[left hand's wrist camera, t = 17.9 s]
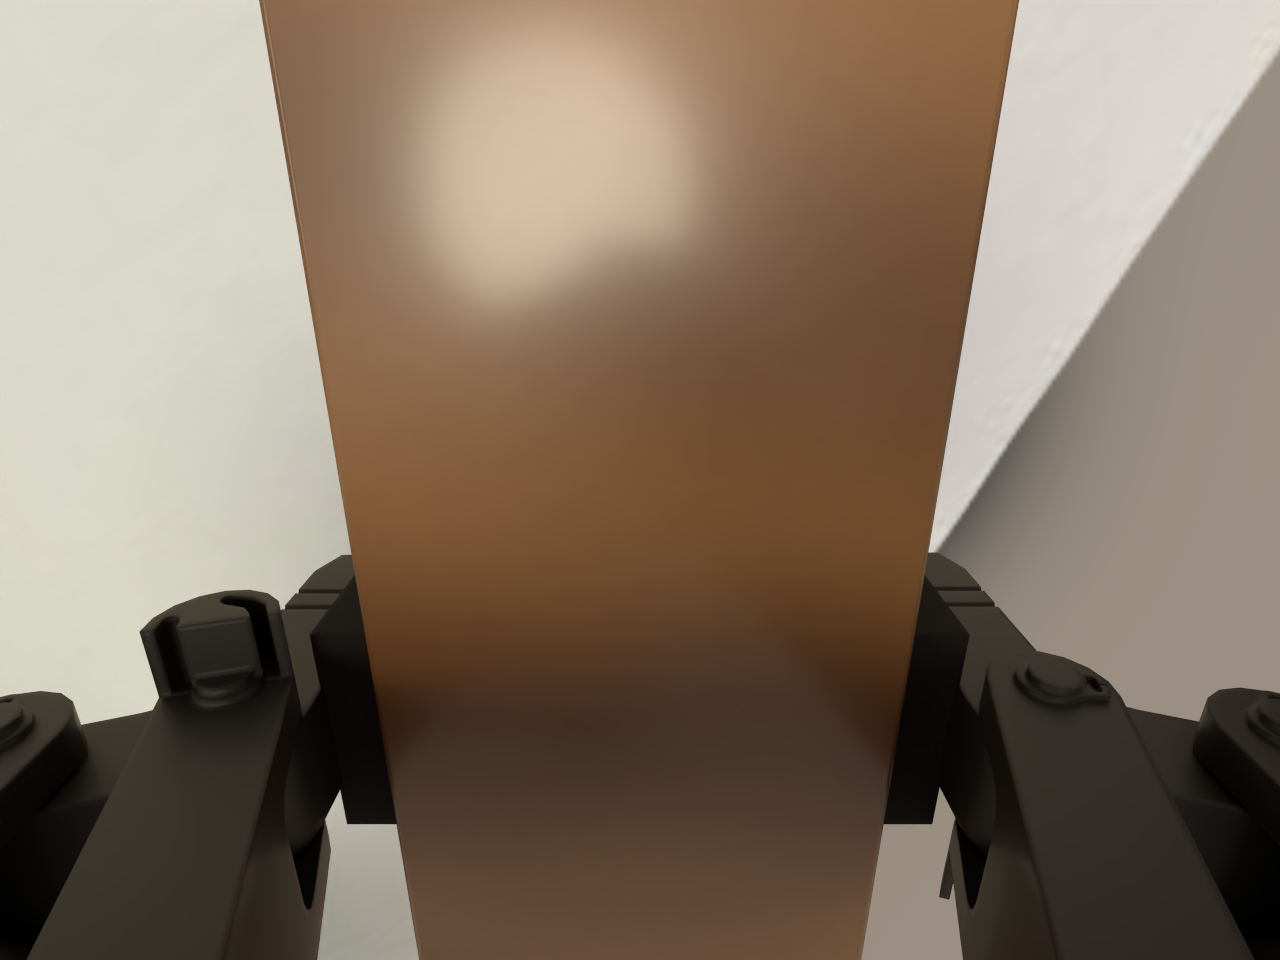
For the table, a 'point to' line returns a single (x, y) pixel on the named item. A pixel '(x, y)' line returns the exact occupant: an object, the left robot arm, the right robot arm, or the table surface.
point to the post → (639, 437)
